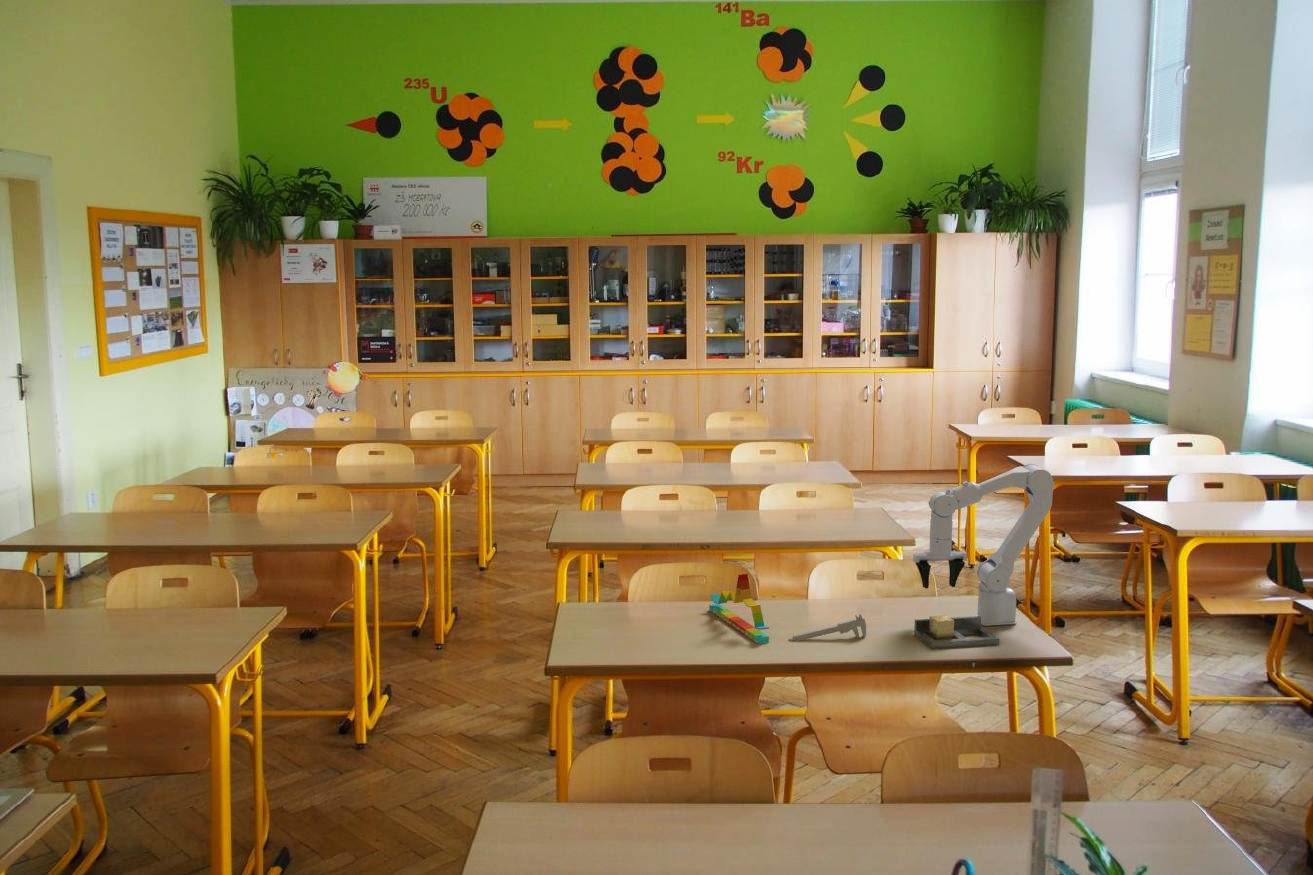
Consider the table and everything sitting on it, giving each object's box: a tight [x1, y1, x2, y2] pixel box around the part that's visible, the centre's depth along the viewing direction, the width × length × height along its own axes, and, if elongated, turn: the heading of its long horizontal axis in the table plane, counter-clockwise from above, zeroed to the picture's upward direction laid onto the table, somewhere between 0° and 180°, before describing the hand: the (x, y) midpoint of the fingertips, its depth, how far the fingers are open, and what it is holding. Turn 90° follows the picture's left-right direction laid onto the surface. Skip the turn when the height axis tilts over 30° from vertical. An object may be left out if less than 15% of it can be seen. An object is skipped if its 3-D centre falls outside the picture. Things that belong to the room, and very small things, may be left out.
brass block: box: [928, 614, 954, 640], centre depth 280 cm, size 4×4×6 cm
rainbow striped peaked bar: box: [708, 573, 770, 645], centre depth 291 cm, size 30×3×15 cm, turn 21°
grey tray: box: [913, 616, 1000, 650], centre depth 281 cm, size 18×11×4 cm, turn 100°
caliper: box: [787, 613, 867, 642], centre depth 281 cm, size 21×1×6 cm, turn 99°
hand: (938, 586), depth 295 cm, fingers open, 7 cm apart
